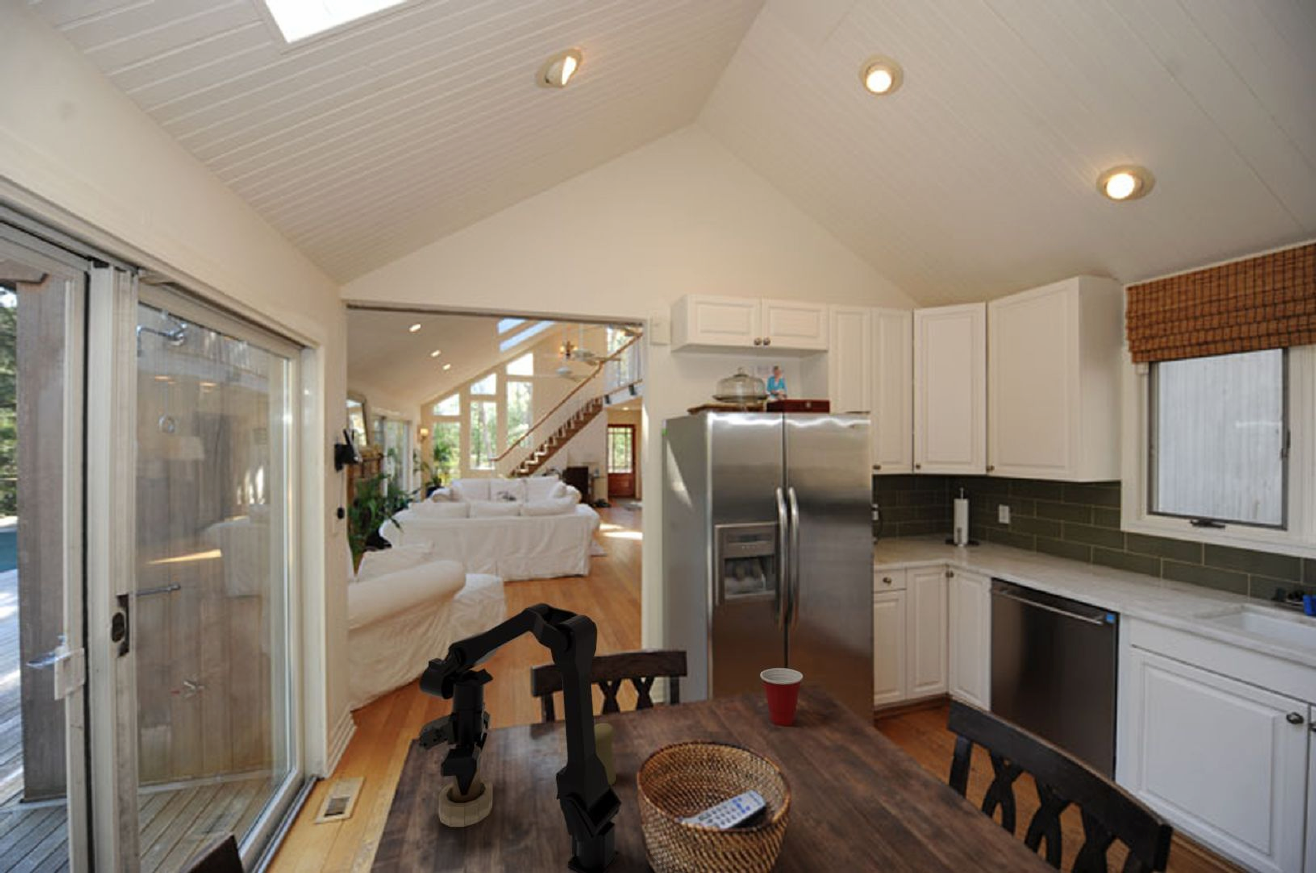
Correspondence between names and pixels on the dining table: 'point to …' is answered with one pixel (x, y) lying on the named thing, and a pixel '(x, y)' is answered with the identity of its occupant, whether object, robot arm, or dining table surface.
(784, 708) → the plastic cup
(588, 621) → the robot arm
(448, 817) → the wooden ring
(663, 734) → the dining table surface
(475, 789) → the walnut peg
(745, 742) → the dining table surface
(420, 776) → the dining table surface
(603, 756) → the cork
